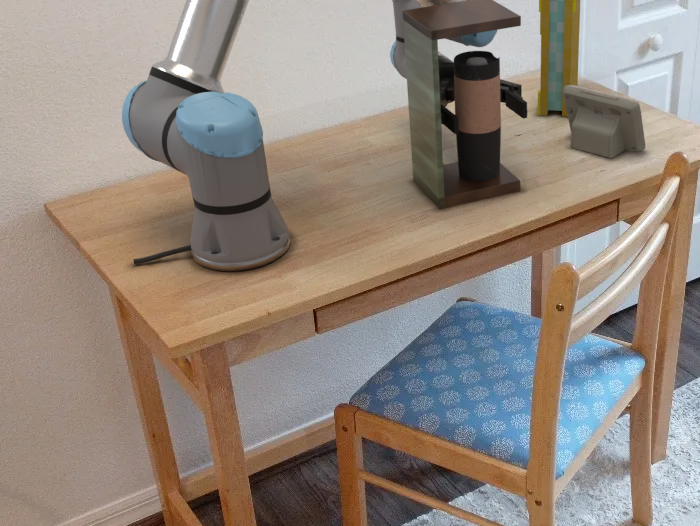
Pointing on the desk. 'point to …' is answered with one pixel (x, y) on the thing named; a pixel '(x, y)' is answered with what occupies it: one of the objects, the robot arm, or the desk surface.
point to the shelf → (425, 97)
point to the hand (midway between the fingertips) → (491, 118)
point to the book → (558, 52)
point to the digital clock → (603, 121)
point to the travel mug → (478, 114)
